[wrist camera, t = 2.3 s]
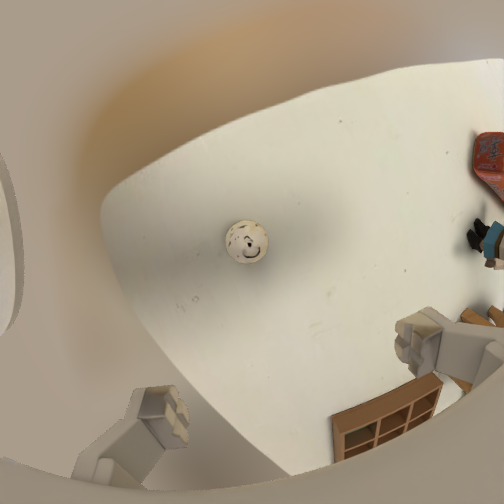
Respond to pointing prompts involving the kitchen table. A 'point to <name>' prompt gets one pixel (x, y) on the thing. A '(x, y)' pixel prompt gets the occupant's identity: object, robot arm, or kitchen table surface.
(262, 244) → the egg
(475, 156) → the snack package
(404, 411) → the compartment tray
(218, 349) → the kitchen table surface
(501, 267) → the toy
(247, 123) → the kitchen table surface
